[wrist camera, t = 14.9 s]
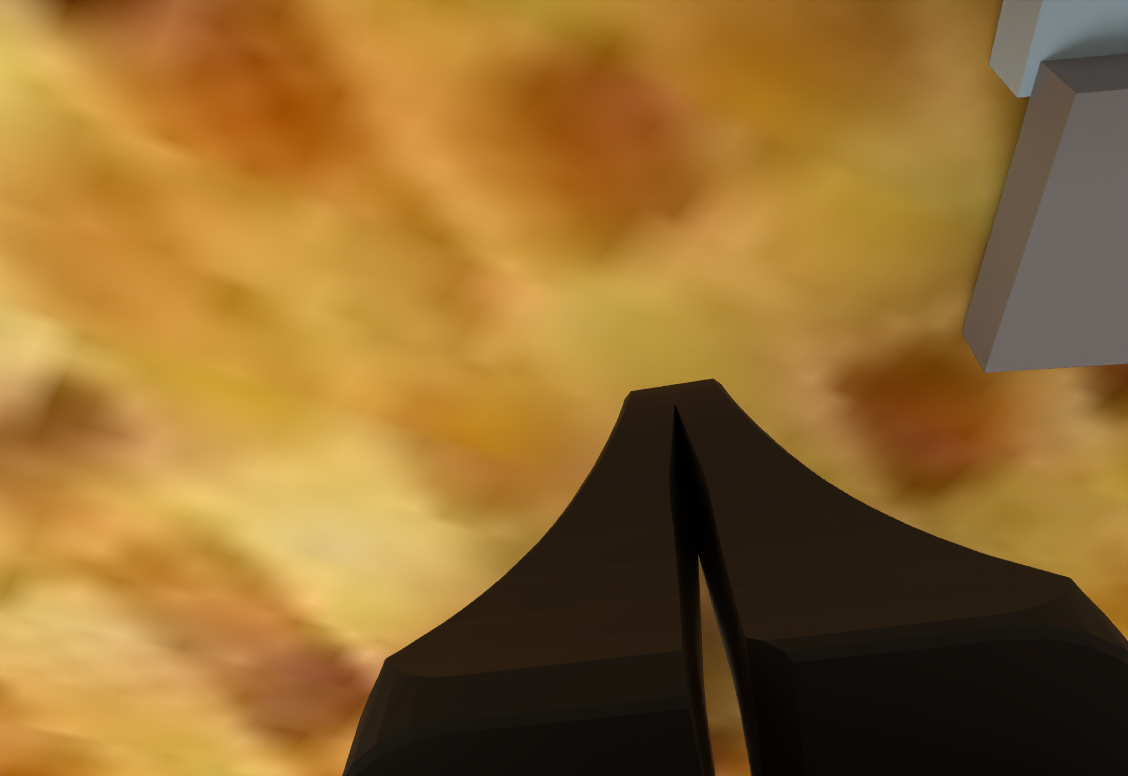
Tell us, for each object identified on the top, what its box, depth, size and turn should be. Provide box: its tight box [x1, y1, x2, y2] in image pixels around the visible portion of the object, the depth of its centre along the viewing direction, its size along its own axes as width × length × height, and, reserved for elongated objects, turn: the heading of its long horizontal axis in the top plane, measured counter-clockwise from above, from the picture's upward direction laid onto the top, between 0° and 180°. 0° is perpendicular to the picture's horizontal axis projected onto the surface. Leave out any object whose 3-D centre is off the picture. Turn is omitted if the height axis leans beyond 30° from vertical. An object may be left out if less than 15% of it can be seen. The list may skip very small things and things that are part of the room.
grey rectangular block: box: [962, 54, 1128, 373], centre depth 18 cm, size 2×5×7 cm
